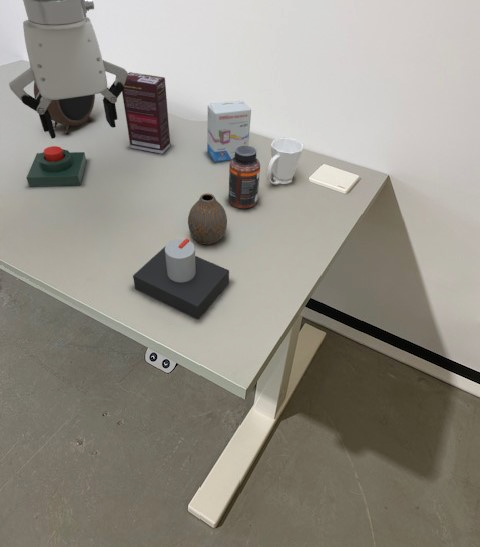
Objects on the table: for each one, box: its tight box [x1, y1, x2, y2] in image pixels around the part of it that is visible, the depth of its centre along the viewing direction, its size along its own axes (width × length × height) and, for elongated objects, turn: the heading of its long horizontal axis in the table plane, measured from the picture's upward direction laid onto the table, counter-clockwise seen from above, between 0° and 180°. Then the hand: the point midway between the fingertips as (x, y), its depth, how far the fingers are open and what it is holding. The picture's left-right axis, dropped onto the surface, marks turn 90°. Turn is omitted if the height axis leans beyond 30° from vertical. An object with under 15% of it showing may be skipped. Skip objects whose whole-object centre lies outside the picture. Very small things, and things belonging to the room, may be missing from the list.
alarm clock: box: [33, 81, 96, 134], centre depth 99 cm, size 15×7×20 cm, turn 154°
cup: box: [266, 137, 305, 185], centre depth 89 cm, size 7×10×8 cm
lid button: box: [43, 145, 64, 161], centre depth 87 cm, size 4×4×2 cm
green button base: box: [25, 148, 87, 188], centre depth 88 cm, size 10×10×4 cm
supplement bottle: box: [228, 145, 261, 209], centre depth 81 cm, size 6×6×11 cm
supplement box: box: [121, 71, 171, 155], centre depth 94 cm, size 9×5×16 cm, turn 73°
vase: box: [187, 192, 228, 245], centre depth 73 cm, size 7×7×9 cm
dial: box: [164, 238, 196, 283], centre depth 63 cm, size 4×4×5 cm
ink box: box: [206, 100, 252, 163], centre depth 95 cm, size 9×5×12 cm, turn 112°
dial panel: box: [132, 245, 230, 320], centre depth 66 cm, size 12×9×3 cm
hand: (82, 129), depth 69 cm, fingers open, 9 cm apart
